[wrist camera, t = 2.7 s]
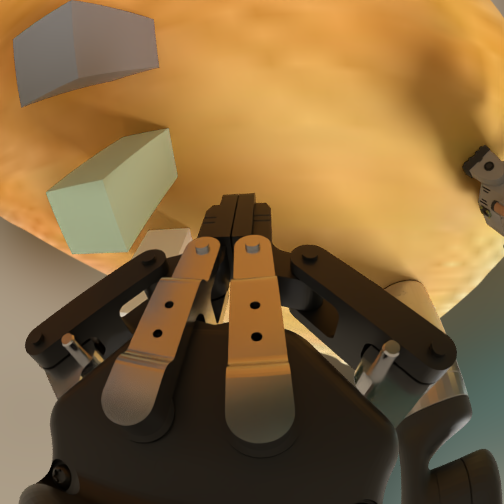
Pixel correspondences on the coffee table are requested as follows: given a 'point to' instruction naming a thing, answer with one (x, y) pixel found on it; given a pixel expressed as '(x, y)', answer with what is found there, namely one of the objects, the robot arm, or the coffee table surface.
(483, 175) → the figurine
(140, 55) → the slate grey pillar
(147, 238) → the off white pillar
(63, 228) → the sage green pillar
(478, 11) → the coffee table surface
